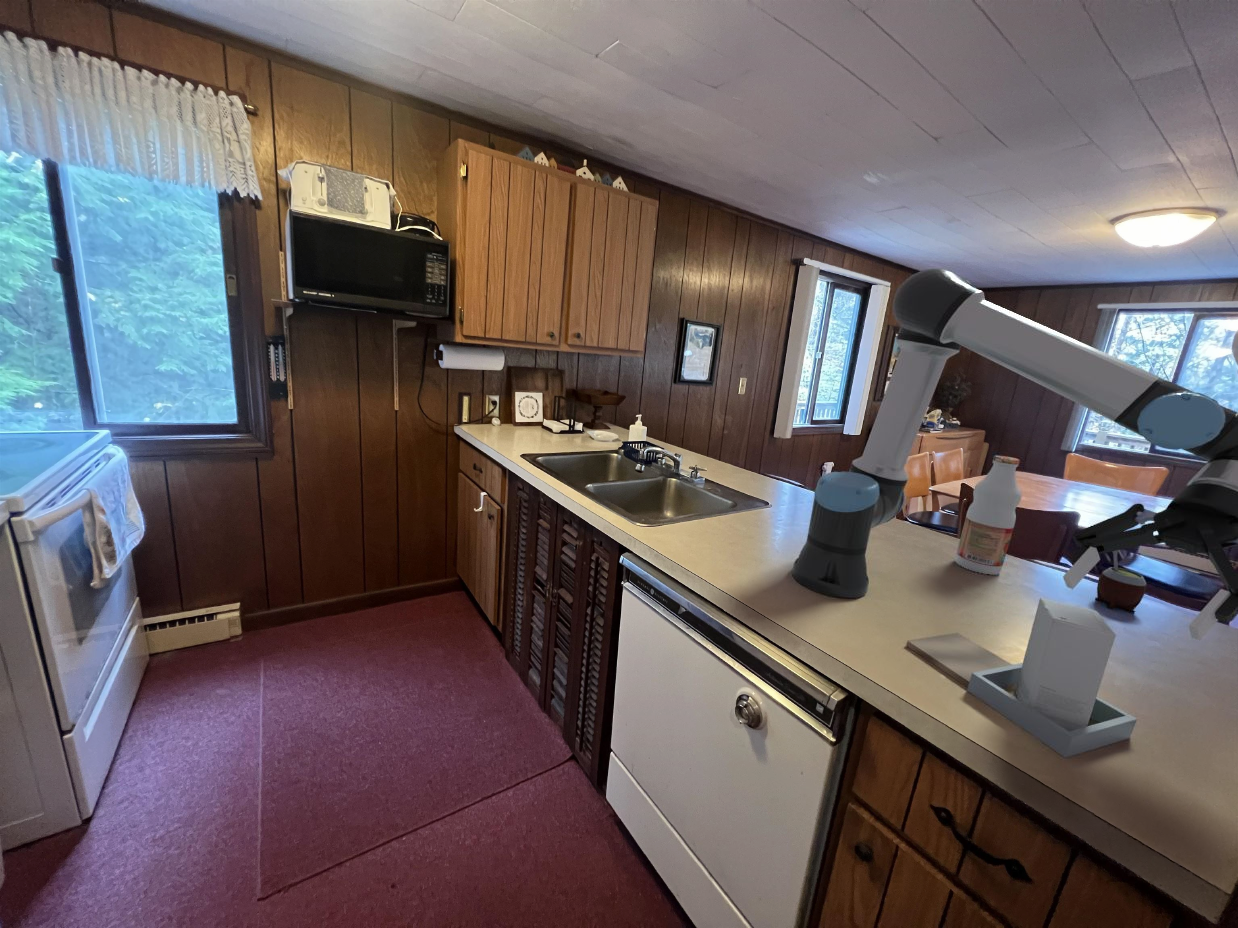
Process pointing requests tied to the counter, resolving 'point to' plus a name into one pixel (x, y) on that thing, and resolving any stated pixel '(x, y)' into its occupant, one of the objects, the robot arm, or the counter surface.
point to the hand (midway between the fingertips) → (1124, 605)
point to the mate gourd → (1120, 588)
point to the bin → (1066, 743)
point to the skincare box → (1064, 663)
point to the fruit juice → (990, 519)
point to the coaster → (956, 655)
